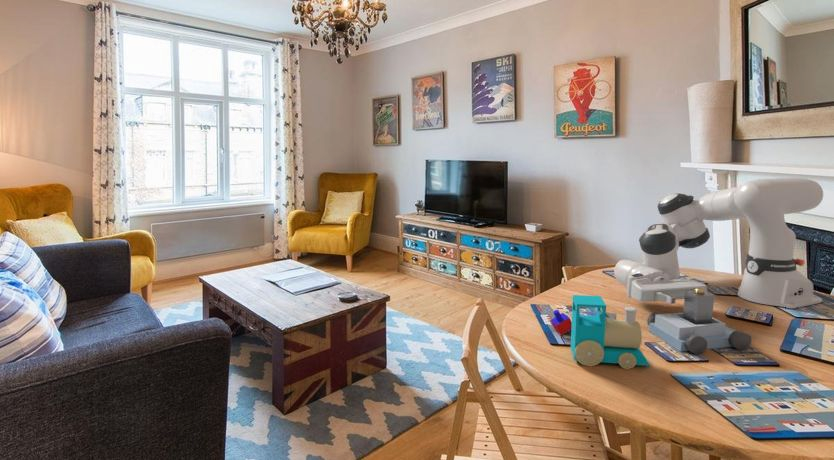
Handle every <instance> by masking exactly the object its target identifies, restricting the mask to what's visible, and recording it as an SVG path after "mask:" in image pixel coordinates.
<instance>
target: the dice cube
mask: <svg viewBox="0 0 834 460" xmlns="http://www.w3.org/2000/svg"><path fill="white" fill-rule="evenodd" d="M600 311H601V310H600ZM601 313H602V311H601ZM594 316H597V311H596V313H595V315H594ZM617 316H618V315H617V313H614V312H608V311H606V319H615V320H617Z"/></svg>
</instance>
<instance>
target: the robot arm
mask: <svg viewBox="0 0 834 460" xmlns="http://www.w3.org/2000/svg"><path fill="white" fill-rule="evenodd" d="M823 198H824V191H823V188H822V186H821V185H820V183H818V182H817V181H815V180H812V179H808V178H802V177H801V178H800V177H787V178H786V177H785V178H782V177H781V178H762V179H761V178H758V179H755V180H751V181H747V182H743V183H741V184H740V185H739V186H733V187H729V188H724V189H721V190H717V191H712V192H709V193H707V194H705V195H703V196H701V197H699V198H697V199H695V197H694V196H693V195H691V194H690V195H688V194H685V193H673V194H669V195H667V196H665V197H664V198H662V199H661V200H660V201H659V202H658V203H657V210H658V213H659V215H661V218H662V219H663V221H664V222H658V223H653V224H651V225H650V226H648V227H647V230H646V231H645V232H643V233H642V235H641V236H640V237H639V239H638V242H639V245H640V250H641V255H642V261H643V262H638V261H635V260H631V259H630V260H629V259H620V260H619V261H618V262H617V263H616V264H615V266H614V269H613V270H614V271H613V273H614V277H615V279H616V280H617V281H618V283H619V284H620V285H622V286H624V287H626V297H628V298H631V299H634V300H636V301H639V302H643V303H649V302H651V303H652V302H662V303H666V304H669V305H670V304H676V300H684V299H685V291H689V290H695V289H696V288H702V289H704V290H705V292H708V287H707V284H705V283H703V282H701V281H700V282H699V281H697V280H693V279H688V278H681V275H680V274H681V272H680V264H679V258H678V250H679V247H681V248H684V249H696V248H698V247H701V246H703V245H704V244H706V243H707V242H708V241H709V240H710V237H711V235H710V232H709V229H708V227H706V225H705V222H704V221H710V222H711V221H712V222H719V221H720V222H722V221H723V222H724V221H734V220H741V219H747V222H748V226H749V232H750V234H749V244H748V245H749V247H748V253H746V257H745V268H744V271H743V275H742V280H741V283H740V286H738V287H737V288H738V289H737V290H738V291H737V294H736V295H737V296H738V297H739V298H741V299H744V300H746V301H748V302H753V303H757V304H762V305H768V306H776V307H781V308H785V307H786V308H787V309H797V307H798V308H801V307H802V308H803V307H807V306H811V305H818V304H821V302H822V303H823V298H821V297H819V296H817V295H815V294H814V284H813V282H812V281H811V280H810V279H809V278H807V277H806V276H805V275H804V274H802V273H801V272H800V271H798V270H797V269H798V268H797V266H800V267H803V266H804V265H805V263H806V262H805V260H804V259H800V258H796V259H794V252H795V246H796V240H797V239H796V238H797V236H796V233H795V232H794V230H792V229H791V228H789V227H788V225H787V223H786V220H785V215H788V214H798V213H802V212H807V211H810V210H812V209H813V210H814V209H815V208H816V207H818V206H819V205H820V204H821V203H822V202H823Z"/></svg>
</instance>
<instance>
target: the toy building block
mask: <svg viewBox="0 0 834 460" xmlns="http://www.w3.org/2000/svg"><path fill="white" fill-rule="evenodd" d="M553 316H555V317H553V318H551V319H550V323H551V324H552V326H553V329H554V331H556V332H557V333H558V334H559V335H560V334H561V335H560V336H563V335H564V334H567V333H568V332H571V328H572V319H571V318H570V317H569V316H568V315H567V314H565V312H562V313H561V312H560V310H559V309H555V310H553Z"/></svg>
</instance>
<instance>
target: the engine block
mask: <svg viewBox="0 0 834 460" xmlns="http://www.w3.org/2000/svg"><path fill="white" fill-rule="evenodd" d="M683 300H684V301H683V302H684V303H683V310H682V311H683V312H682V313H683V319H685V320H687V321H689V322H691V323H693V324H695V325H700V324H711V323H712V317H713V312H714V304H715V294H712V293H711V292H708V291H707V292H705V290H704V289H702V288H696V289H695V290H689V291H685V299H683Z"/></svg>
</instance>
